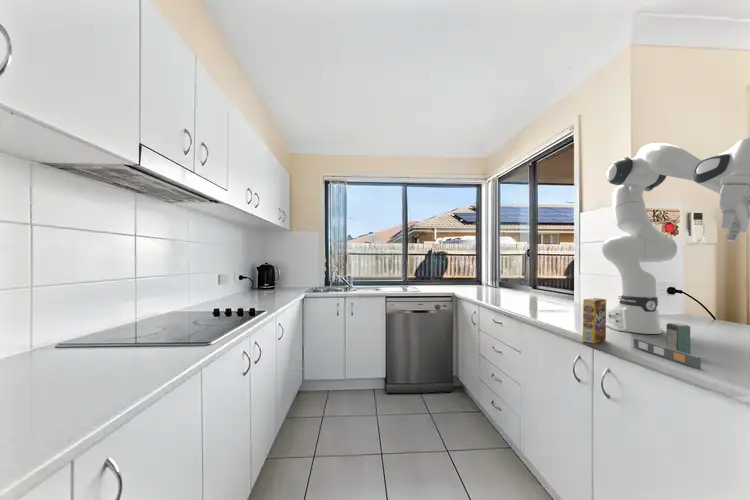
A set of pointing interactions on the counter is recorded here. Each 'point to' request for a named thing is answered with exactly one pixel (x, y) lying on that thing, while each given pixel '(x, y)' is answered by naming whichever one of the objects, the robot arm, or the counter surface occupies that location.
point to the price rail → (668, 353)
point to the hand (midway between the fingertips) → (728, 235)
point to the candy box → (594, 320)
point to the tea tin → (678, 337)
